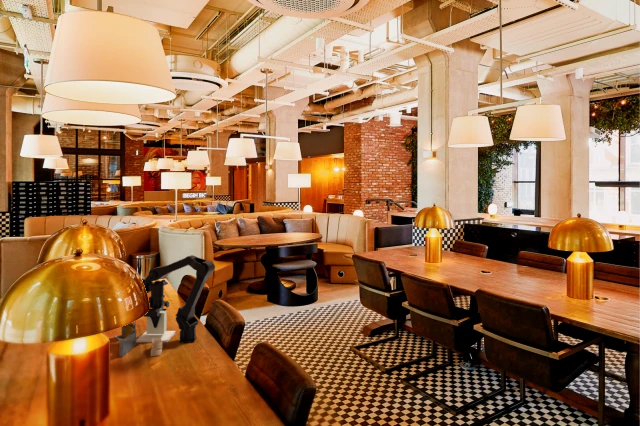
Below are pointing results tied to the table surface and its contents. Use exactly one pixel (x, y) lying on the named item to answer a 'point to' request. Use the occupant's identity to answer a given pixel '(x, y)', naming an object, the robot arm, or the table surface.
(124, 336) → the condiment
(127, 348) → the rack
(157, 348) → the offcut stack
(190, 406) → the table surface
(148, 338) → the mat
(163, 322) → the grey upright block
